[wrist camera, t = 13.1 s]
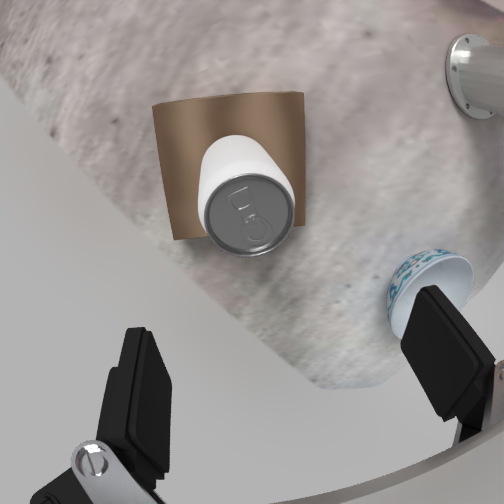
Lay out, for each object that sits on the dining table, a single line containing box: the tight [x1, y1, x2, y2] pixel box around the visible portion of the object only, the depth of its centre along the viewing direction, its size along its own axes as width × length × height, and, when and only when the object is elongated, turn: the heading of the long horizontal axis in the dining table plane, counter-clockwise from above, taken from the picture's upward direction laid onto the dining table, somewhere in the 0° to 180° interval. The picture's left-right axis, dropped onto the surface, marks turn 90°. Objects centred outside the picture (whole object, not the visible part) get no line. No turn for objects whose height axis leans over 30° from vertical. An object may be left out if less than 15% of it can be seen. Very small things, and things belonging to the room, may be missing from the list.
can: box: [198, 135, 295, 257], centre depth 24 cm, size 6×6×12 cm
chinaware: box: [387, 249, 474, 340], centre depth 41 cm, size 15×15×8 cm
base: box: [152, 91, 305, 240], centre depth 31 cm, size 14×14×4 cm
